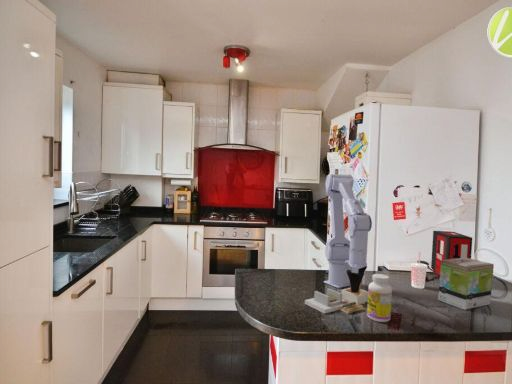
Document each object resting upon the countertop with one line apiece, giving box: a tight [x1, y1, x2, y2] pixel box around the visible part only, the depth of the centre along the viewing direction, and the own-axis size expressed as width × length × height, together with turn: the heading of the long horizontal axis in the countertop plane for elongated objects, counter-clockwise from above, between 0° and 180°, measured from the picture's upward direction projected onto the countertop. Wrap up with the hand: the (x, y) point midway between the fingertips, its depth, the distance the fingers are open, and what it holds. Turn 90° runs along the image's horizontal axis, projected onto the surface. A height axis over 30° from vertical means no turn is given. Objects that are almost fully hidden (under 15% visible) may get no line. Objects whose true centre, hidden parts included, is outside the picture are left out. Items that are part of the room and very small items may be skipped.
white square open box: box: [341, 287, 368, 306], centre depth 110 cm, size 7×7×3 cm
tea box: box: [437, 258, 495, 311], centre depth 112 cm, size 15×10×15 cm, turn 117°
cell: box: [349, 283, 362, 295], centre depth 110 cm, size 3×3×6 cm
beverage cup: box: [410, 251, 428, 289], centre depth 128 cm, size 6×6×14 cm
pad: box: [326, 294, 337, 303], centre depth 105 cm, size 4×4×1 cm
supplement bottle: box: [366, 273, 393, 323], centre depth 96 cm, size 7×7×13 cm
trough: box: [339, 302, 364, 315], centre depth 102 cm, size 7×3×2 cm, turn 123°
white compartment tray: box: [304, 288, 350, 314], centre depth 105 cm, size 12×9×4 cm
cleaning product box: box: [430, 230, 473, 279], centre depth 142 cm, size 16×9×20 cm, turn 172°
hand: (356, 288), depth 110 cm, fingers open, 7 cm apart
